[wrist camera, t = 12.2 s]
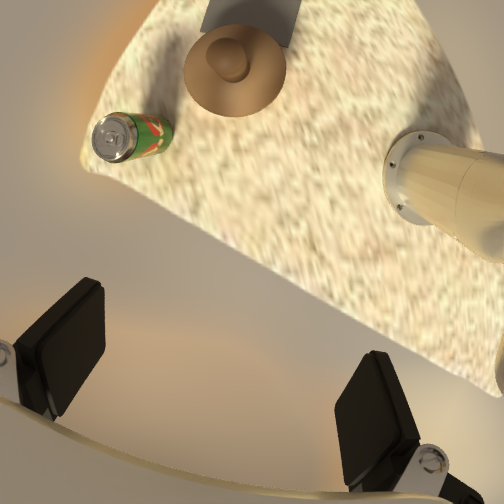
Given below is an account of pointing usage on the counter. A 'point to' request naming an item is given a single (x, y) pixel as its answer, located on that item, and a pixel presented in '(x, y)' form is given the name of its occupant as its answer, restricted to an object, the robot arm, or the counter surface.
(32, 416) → the robot arm
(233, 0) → the mat
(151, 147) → the soda can
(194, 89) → the lid
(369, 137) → the counter surface
